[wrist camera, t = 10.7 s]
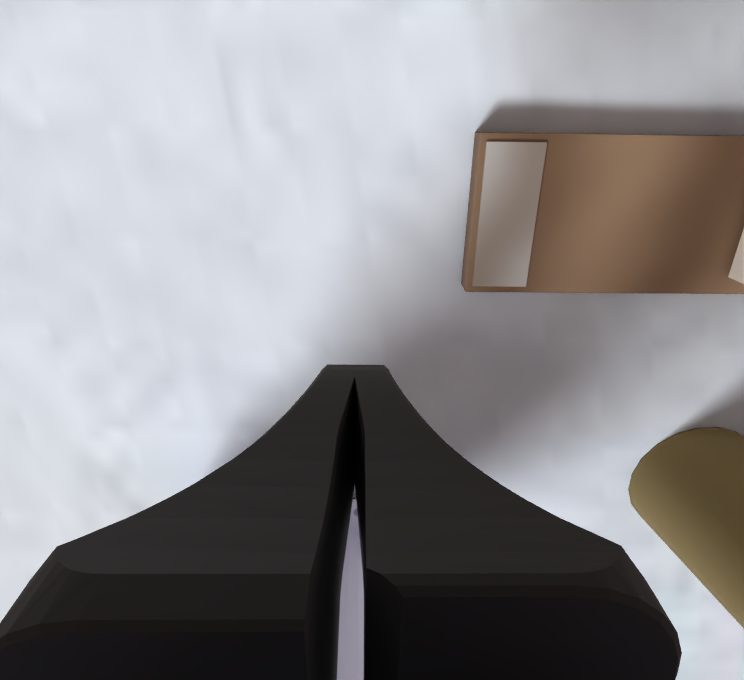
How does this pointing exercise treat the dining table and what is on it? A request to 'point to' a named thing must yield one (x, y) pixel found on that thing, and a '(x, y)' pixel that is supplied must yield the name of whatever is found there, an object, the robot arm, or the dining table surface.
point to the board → (604, 213)
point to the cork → (698, 506)
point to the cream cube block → (738, 262)
